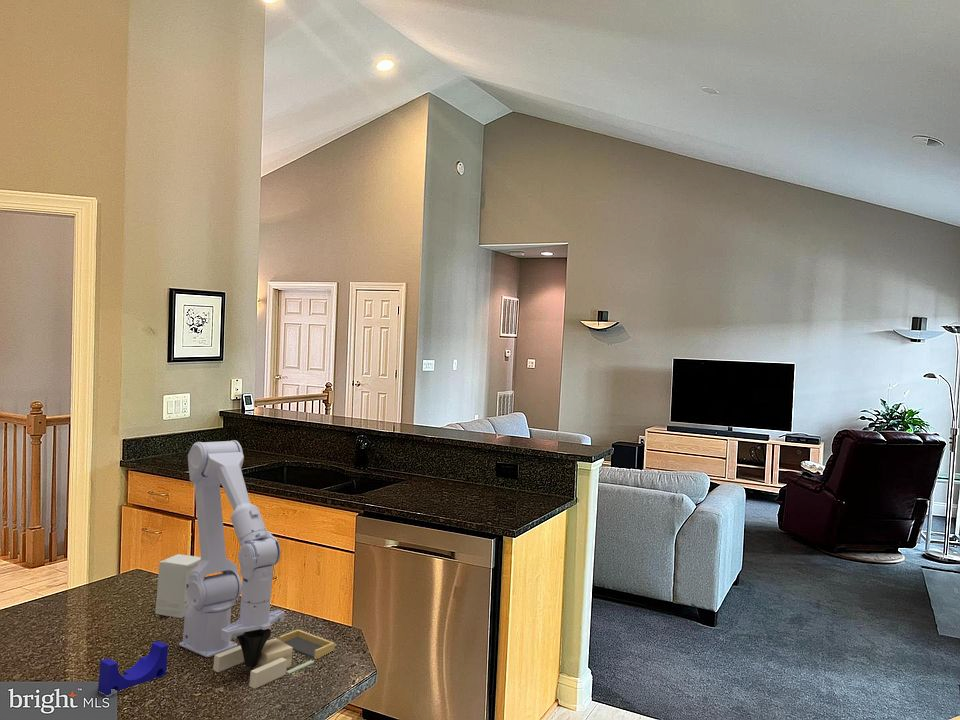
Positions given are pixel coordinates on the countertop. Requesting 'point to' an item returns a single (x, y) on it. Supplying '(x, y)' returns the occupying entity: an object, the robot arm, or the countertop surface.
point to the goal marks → (299, 667)
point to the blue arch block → (133, 670)
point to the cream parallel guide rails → (256, 675)
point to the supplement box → (174, 585)
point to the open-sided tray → (307, 643)
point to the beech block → (275, 652)
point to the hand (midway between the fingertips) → (250, 665)
